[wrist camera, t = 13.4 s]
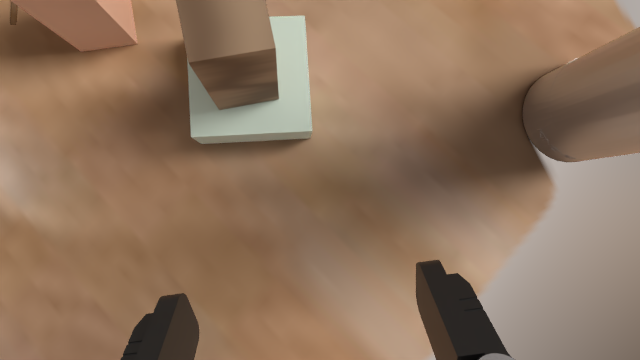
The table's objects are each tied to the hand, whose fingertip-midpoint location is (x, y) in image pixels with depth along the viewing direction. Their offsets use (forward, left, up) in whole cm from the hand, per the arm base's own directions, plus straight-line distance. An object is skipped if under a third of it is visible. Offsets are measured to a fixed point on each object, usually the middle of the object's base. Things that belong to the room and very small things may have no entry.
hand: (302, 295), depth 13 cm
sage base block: (-8, -12, -22) cm, 27 cm away
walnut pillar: (-8, -12, -18) cm, 23 cm away
